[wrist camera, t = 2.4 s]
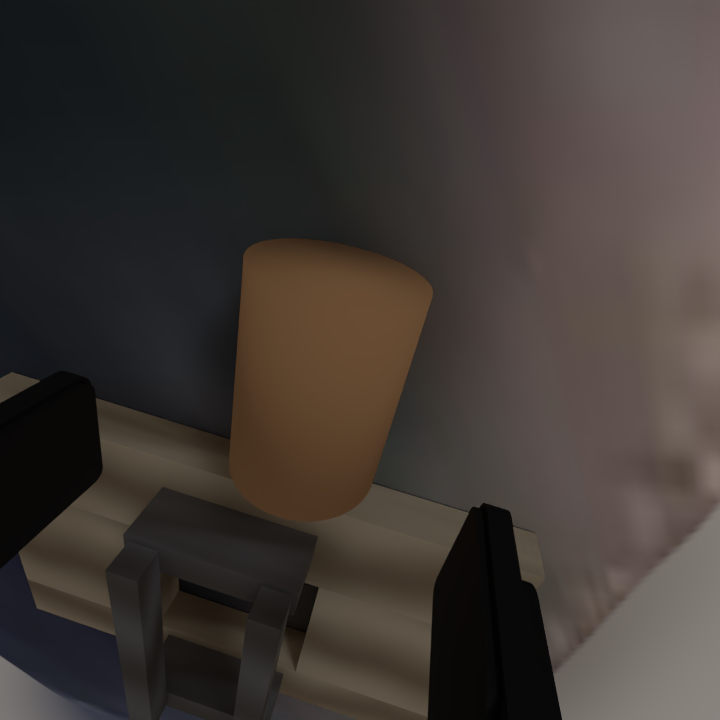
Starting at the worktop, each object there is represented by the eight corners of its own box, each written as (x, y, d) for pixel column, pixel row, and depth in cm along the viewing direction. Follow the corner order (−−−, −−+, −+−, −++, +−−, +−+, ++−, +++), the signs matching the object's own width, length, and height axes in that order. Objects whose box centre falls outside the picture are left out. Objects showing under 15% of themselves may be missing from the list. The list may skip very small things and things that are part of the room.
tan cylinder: (272, 227, 13) (211, 278, 9) (426, 263, 13) (442, 330, 9) (254, 403, 16) (204, 502, 12) (376, 429, 17) (370, 536, 12)
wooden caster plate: (11, 372, 19) (-143, 453, 14) (536, 533, 17) (569, 689, 12) (64, 577, 27) (-23, 675, 22) (424, 700, 25) (418, 835, 20)
